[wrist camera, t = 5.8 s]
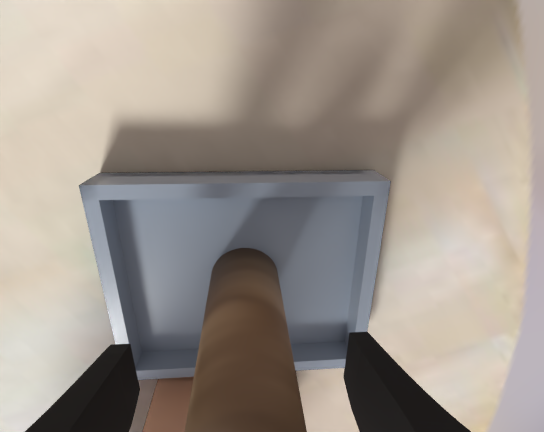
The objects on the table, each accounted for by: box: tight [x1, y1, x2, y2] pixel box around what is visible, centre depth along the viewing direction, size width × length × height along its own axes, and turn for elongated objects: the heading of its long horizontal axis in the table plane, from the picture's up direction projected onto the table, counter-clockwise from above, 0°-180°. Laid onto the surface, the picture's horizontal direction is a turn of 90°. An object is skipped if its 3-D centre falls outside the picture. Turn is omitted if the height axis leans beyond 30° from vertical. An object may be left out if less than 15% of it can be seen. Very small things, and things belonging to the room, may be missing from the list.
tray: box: [79, 170, 391, 380], centre depth 15 cm, size 12×10×2 cm
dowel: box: [185, 248, 307, 432], centre depth 12 cm, size 3×3×8 cm
